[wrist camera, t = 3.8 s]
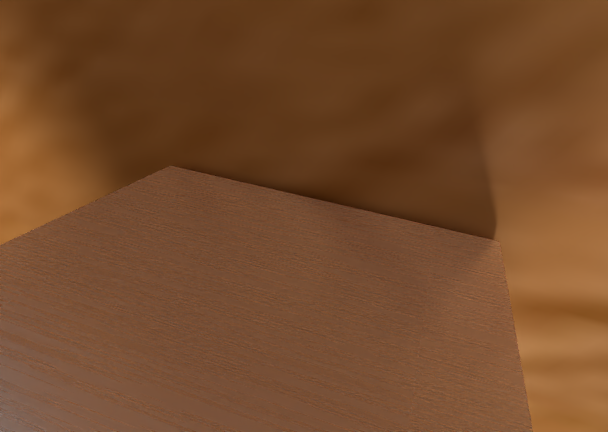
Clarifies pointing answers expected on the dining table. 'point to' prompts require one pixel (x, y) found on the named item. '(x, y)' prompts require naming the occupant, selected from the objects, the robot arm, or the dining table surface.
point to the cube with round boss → (253, 318)
